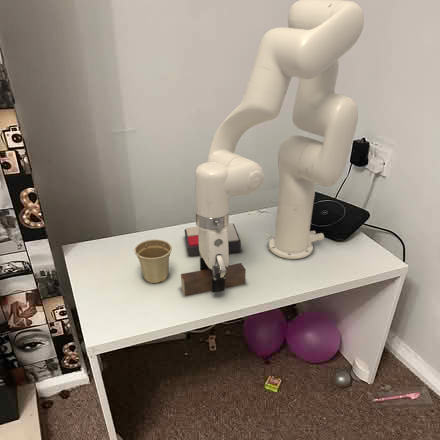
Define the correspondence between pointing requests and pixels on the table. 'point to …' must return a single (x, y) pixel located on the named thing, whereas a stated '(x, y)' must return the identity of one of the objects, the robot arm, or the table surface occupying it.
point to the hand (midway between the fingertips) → (211, 280)
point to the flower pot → (154, 259)
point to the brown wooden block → (203, 279)
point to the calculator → (193, 240)
